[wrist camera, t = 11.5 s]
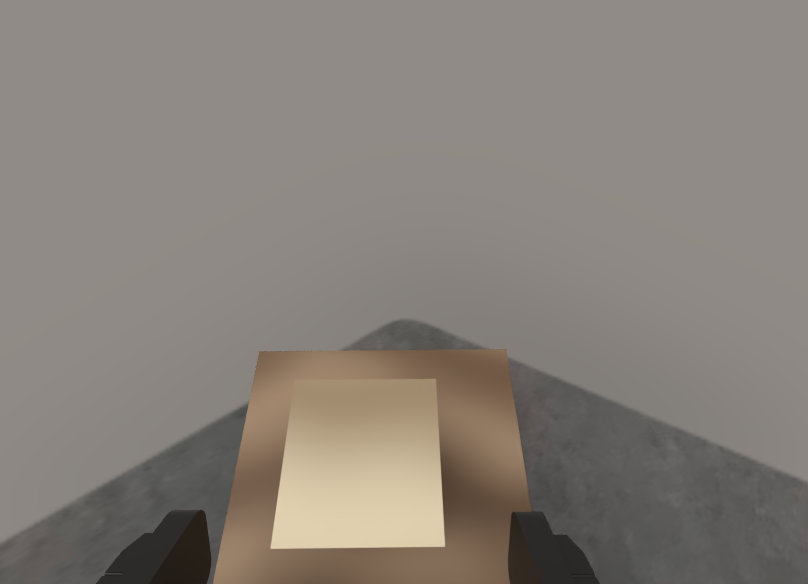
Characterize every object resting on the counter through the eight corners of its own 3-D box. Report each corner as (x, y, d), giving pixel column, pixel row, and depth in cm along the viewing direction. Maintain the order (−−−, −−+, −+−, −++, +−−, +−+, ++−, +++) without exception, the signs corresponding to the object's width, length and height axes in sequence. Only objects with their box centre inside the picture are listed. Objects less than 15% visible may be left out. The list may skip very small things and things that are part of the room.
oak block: (425, 543, 18) (445, 547, 9) (335, 545, 18) (270, 548, 9) (422, 448, 20) (435, 378, 11) (341, 449, 20) (294, 380, 11)
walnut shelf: (483, 624, 30) (562, 707, 15) (296, 626, 30) (187, 712, 15) (465, 425, 37) (506, 349, 23) (316, 426, 37) (259, 351, 22)
